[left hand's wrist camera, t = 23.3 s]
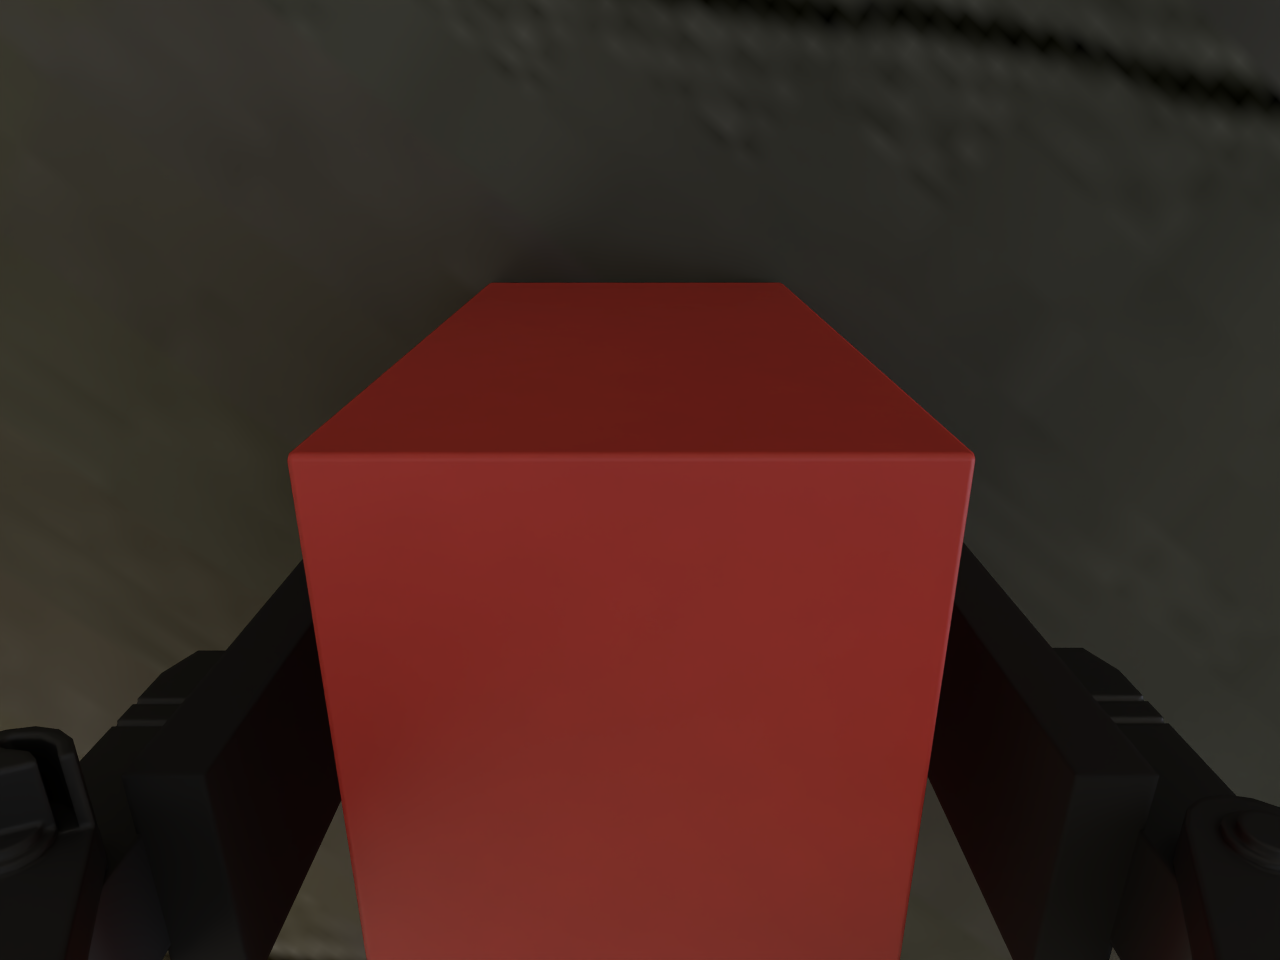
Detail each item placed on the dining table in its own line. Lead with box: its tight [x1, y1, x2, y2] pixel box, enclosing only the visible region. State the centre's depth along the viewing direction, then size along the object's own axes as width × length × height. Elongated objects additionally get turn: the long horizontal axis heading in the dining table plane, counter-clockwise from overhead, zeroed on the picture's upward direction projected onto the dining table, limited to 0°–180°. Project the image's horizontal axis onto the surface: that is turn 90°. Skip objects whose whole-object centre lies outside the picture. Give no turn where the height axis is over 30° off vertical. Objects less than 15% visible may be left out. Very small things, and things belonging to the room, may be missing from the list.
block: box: [287, 283, 975, 960], centre depth 12 cm, size 5×9×9 cm, turn 0°
